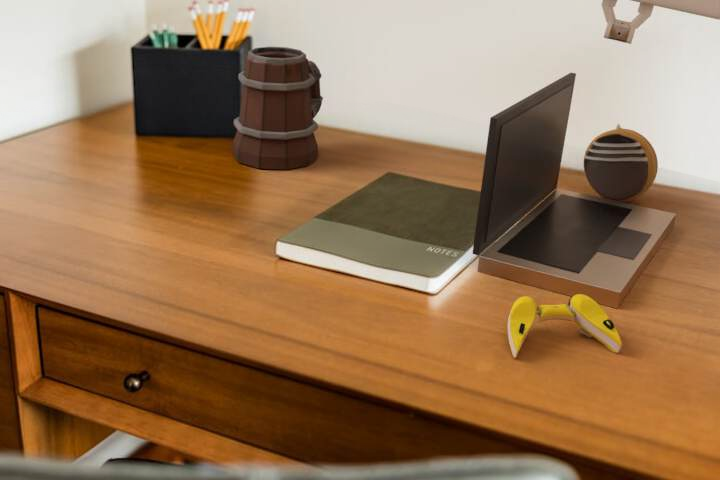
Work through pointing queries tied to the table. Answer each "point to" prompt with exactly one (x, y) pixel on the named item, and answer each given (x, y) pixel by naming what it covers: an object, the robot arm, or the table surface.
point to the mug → (277, 109)
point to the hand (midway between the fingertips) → (617, 39)
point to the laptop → (580, 246)
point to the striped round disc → (620, 164)
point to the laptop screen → (522, 159)
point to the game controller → (577, 310)
